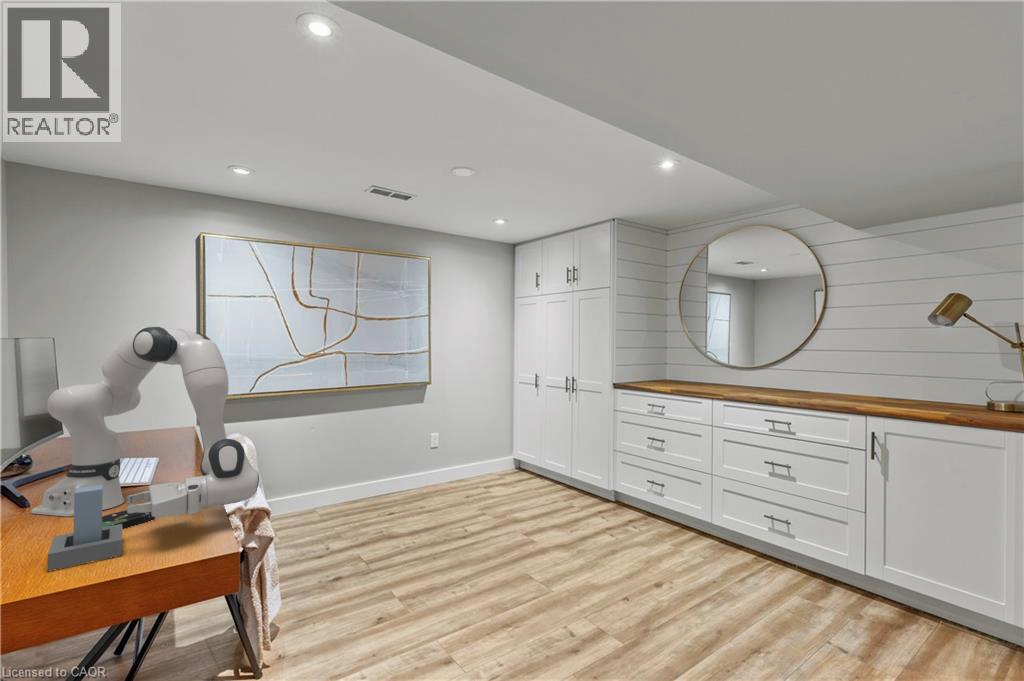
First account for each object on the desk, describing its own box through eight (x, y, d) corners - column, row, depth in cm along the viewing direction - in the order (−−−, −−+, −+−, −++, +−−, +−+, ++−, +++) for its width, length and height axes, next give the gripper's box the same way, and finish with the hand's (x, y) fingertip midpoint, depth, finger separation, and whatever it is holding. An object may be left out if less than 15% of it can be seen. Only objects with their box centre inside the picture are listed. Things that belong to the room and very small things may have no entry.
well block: (53, 552, 116) (53, 536, 116) (122, 539, 124) (122, 523, 125) (47, 572, 106) (47, 554, 106) (122, 556, 114) (122, 539, 115)
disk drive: (135, 516, 143) (73, 533, 129) (135, 507, 143) (74, 522, 129) (155, 522, 138) (94, 539, 125) (156, 512, 138) (94, 529, 125)
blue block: (74, 553, 116) (75, 488, 116) (101, 548, 119) (102, 484, 119) (72, 560, 112) (74, 493, 112) (100, 554, 115) (102, 489, 115)
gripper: (188, 474, 137) (126, 482, 128) (197, 491, 121) (127, 502, 112) (188, 496, 137) (126, 506, 128) (196, 515, 121) (127, 528, 112)
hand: (127, 504), depth 120 cm, fingers open, 8 cm apart
